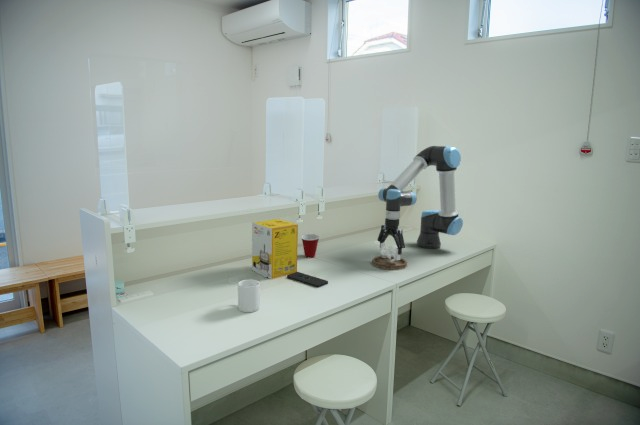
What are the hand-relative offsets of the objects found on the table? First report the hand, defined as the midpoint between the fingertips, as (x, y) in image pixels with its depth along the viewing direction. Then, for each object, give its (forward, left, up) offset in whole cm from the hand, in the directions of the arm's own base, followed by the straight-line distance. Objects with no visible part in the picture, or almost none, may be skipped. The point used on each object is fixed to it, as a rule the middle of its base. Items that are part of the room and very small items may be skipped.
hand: (390, 257), depth 232 cm
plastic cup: (+30, -34, -4) cm, 46 cm away
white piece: (0, 0, -2) cm, 2 cm away
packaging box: (+60, -21, -4) cm, 64 cm away
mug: (+91, +12, -4) cm, 92 cm away
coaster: (0, 0, -4) cm, 4 cm away
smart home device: (+53, -1, -5) cm, 53 cm away
